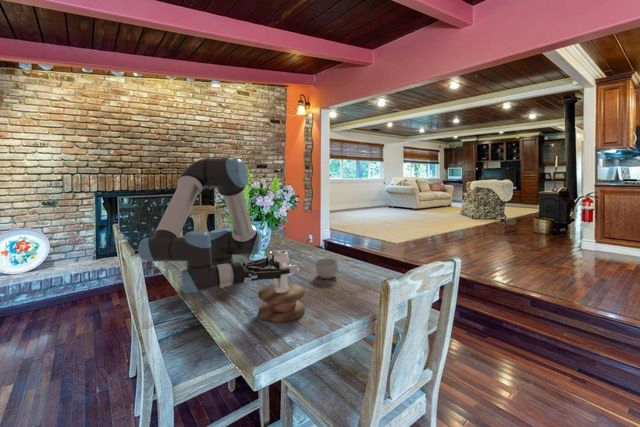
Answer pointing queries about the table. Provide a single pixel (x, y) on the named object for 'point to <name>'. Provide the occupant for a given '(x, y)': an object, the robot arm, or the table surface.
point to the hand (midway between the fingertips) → (291, 264)
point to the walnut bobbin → (281, 304)
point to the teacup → (326, 268)
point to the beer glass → (278, 260)
